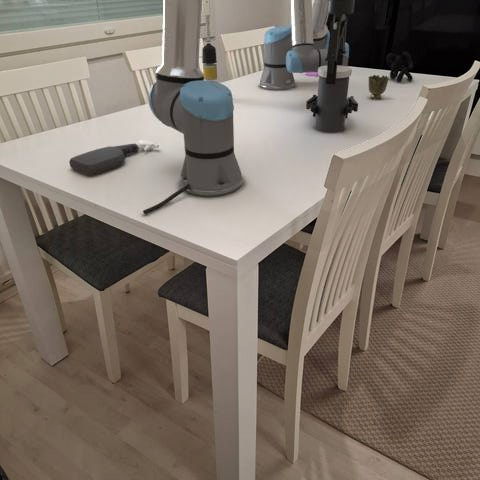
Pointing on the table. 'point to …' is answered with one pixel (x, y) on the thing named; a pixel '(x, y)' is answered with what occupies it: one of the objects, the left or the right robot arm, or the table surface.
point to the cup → (377, 85)
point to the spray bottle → (106, 157)
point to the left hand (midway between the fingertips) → (333, 80)
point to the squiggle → (399, 66)
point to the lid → (341, 71)
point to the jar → (331, 105)
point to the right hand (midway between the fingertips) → (330, 113)
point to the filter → (209, 57)
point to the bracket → (312, 73)
